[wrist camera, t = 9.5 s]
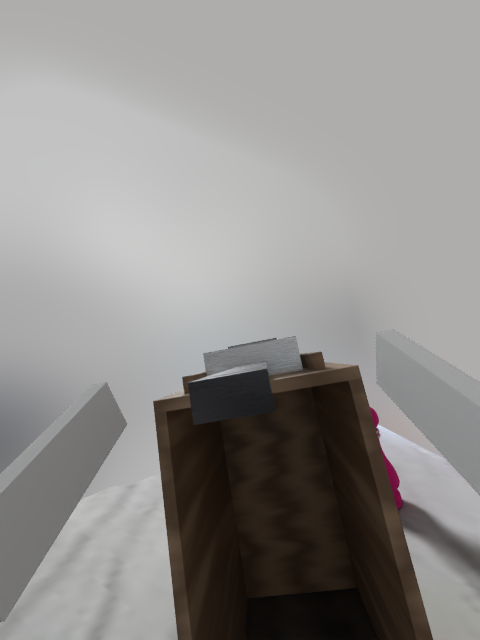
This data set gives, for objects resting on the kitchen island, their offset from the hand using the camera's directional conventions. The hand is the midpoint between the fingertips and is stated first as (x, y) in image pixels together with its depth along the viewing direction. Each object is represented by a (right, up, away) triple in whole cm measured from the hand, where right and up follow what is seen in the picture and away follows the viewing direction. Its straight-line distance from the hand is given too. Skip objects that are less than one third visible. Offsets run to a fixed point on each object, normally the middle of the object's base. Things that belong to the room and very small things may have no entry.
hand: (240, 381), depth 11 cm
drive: (+1, -3, +12) cm, 12 cm away
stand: (+7, -33, +12) cm, 36 cm away
